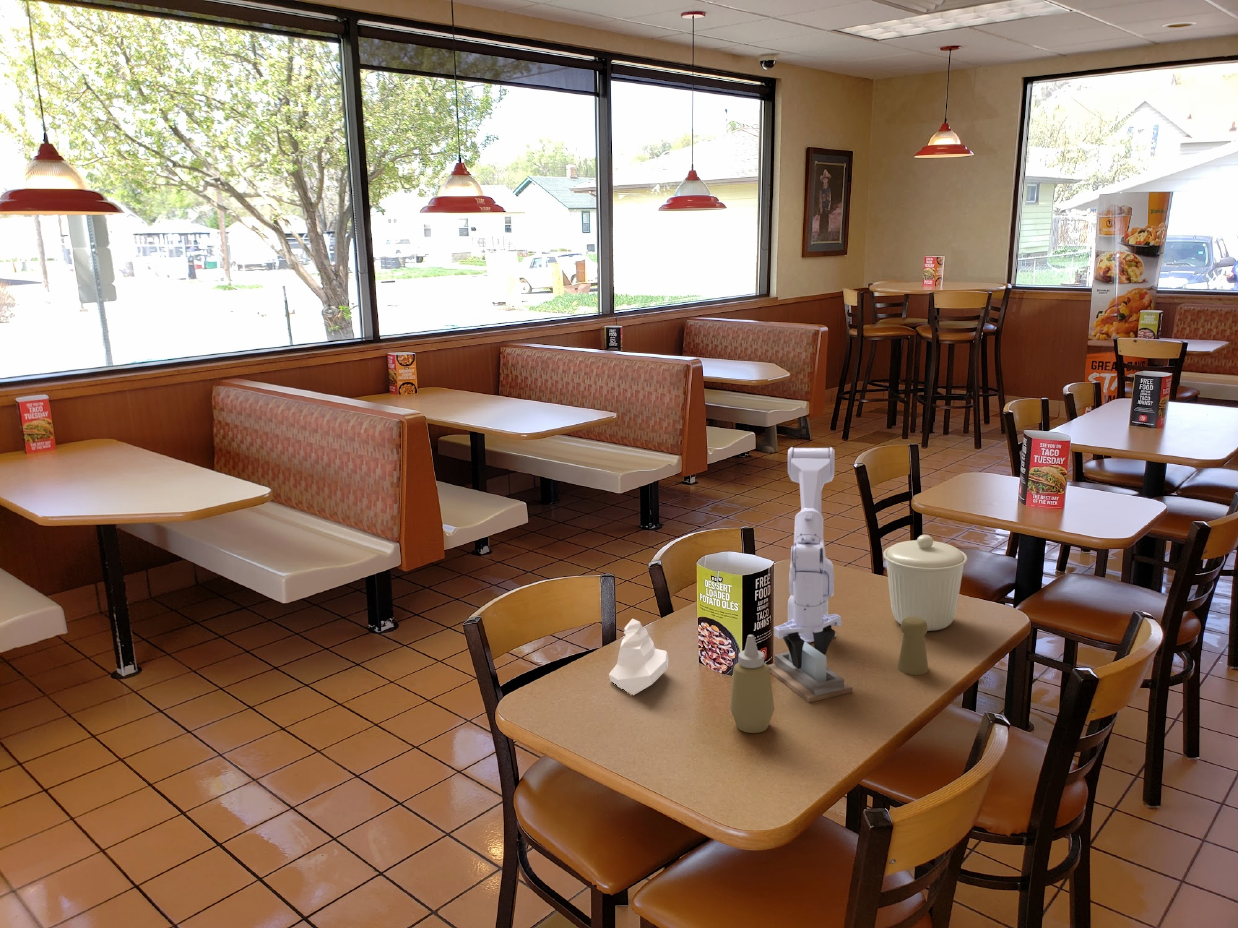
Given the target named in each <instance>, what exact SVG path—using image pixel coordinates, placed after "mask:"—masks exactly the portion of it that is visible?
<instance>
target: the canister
mask: <svg viewBox="0 0 1238 928" xmlns="http://www.w3.org/2000/svg"><path fill="white" fill-rule="evenodd" d="M882 555H883V558H884V559H885V560H886V570H887V571H886V572H887V583H888V590H889V591H888V593H889V599H890V600H889V601H890V606H891V612H892V613H891V614H892V615H893V618H894V619H895V620H896V622H897V623H898V624H900V625H901V622H902V620H903V619H904V618H907V617H912V616H913V617H920V618H922V619H924V620H925V621H926V623H927V632H930V631H931V632H932V631H933V632H934V631H938V630H939V631H940V630H943V629H945V628H947V627H948V626H950V625H951V624H952V623H953V621H954V619H955V615H956V613H957V607H958V602H959V597H960V596H959V595H960V590H961V584H962V580H963V579H962V578H963V573H964V572H963V571H964V565H965V564H966V563H967V561H968V556H967V554H966V553H965V552H963V551H962V550H960V549H959V548H958V547H956V546H953V545H951V544H949V543H946V542H941V541H935V540H934V538H933V537H932V536H930V535H928V534H921V535H919V536H918V537H917V539H915V540H906V541H905V540H904V541H901V542H897V543H895V544H893V545H891V546H888V547H887V548H885V550H884V551H883V554H882Z"/></svg>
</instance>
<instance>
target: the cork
mask: <svg viewBox="0 0 1238 928" xmlns="http://www.w3.org/2000/svg"><path fill="white" fill-rule="evenodd" d="M900 629H901V632H902V633H903V635H902V640H901V647H900V652H899V653H900V654H899V659H898V663H897V664H898V665H897V669H898V671H900V672H902V673H903V674H905V675H911V676H921V675H925V674H927V673H928V672H929V664H928V655H927V647H926V637H925V635H926V634H927V632H928V631H927V623H926V621H925V620H924V619H922V618H920V617H913V616H912V617H907V618H904V619H903V620H902V622H901V624H900Z"/></svg>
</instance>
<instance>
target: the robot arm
mask: <svg viewBox="0 0 1238 928" xmlns="http://www.w3.org/2000/svg"><path fill="white" fill-rule="evenodd" d="M835 463H836V462H835V449H834V448H833V447H793V446H791V447H790V448H788V450H787V474H788V477H789V479H790V481H791V482H794V483H797V484H799V494H800V495H799V496H800V508H801V509H800V511H799V512H797V513H796V514H795V516H794V527H793V528H794V530H793V545H791V548H790V564H789V576H788V590H789V591H788V593H789V594H790V596H789V598H788V600H787V622H784V623H782V624H780V625H776V626H774V627H773V630H774V631H773V635H774V637H775V638H777V639H778V640H782V639H783V641H784V643H785V644H786V647H787V649H788V652H790V655H791V659H792V663H793V666H795V667H796V668H797V669H800V668H801V666H802V649H803V645H804V642H806V643H808V644H809V643H812V642H813V643H814V645H813V646H814V647H813V648H815V649H816V650H818V651H819V652H821V653H822V654H824V655H825V656H826V654H827V651H828V648H829V646H830V644H831V642H832V641H833V640H834V638H835V637H836V636H837V635H836V631H835V629H833V628H832V627H834V626H835V627H841V626H842V616H840V615H839V614H837V613H831V614H829V598H832V597H833V596H834V595H835V594H834V593H835V571H834V564H833V562H832V561H831V560H830V559H828V558H827V557H826V548H825V541H824V521H825V520H824V516H823V515H822V491H823V488H824V485H826V484H828V483H830V482H833V479H834V478H835Z"/></svg>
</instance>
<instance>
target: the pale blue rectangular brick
mask: <svg viewBox="0 0 1238 928" xmlns="http://www.w3.org/2000/svg"><path fill="white" fill-rule="evenodd" d="M788 652H789V651H788ZM789 661H790V662H791V663H792V659H791V655H790V652H789ZM792 664H793V663H792ZM826 667H827V656H826V655H824V654H822V653H821V652H819V651H818V650H816V649H815V648H814V647H813V646H812V645H810V644H809V643H806V642H804V645H803V649H802V666H801V668H800V670H802V671H803V672H805V673H806V674H807V675H809V676H810V677H811V678H813V679H814V680H815V681H817V682H818V683H821V682H825V681H826Z"/></svg>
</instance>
